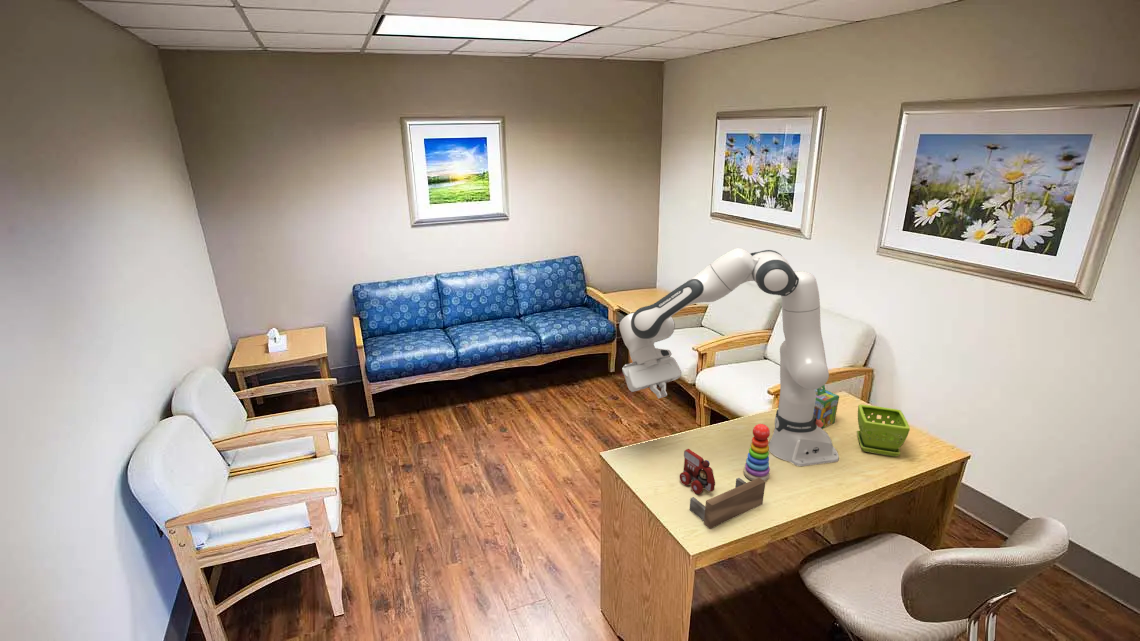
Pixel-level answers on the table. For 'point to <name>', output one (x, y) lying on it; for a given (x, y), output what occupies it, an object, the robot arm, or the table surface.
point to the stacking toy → (758, 454)
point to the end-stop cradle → (730, 502)
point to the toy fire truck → (697, 473)
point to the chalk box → (825, 406)
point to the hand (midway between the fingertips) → (662, 397)
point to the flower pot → (881, 430)
